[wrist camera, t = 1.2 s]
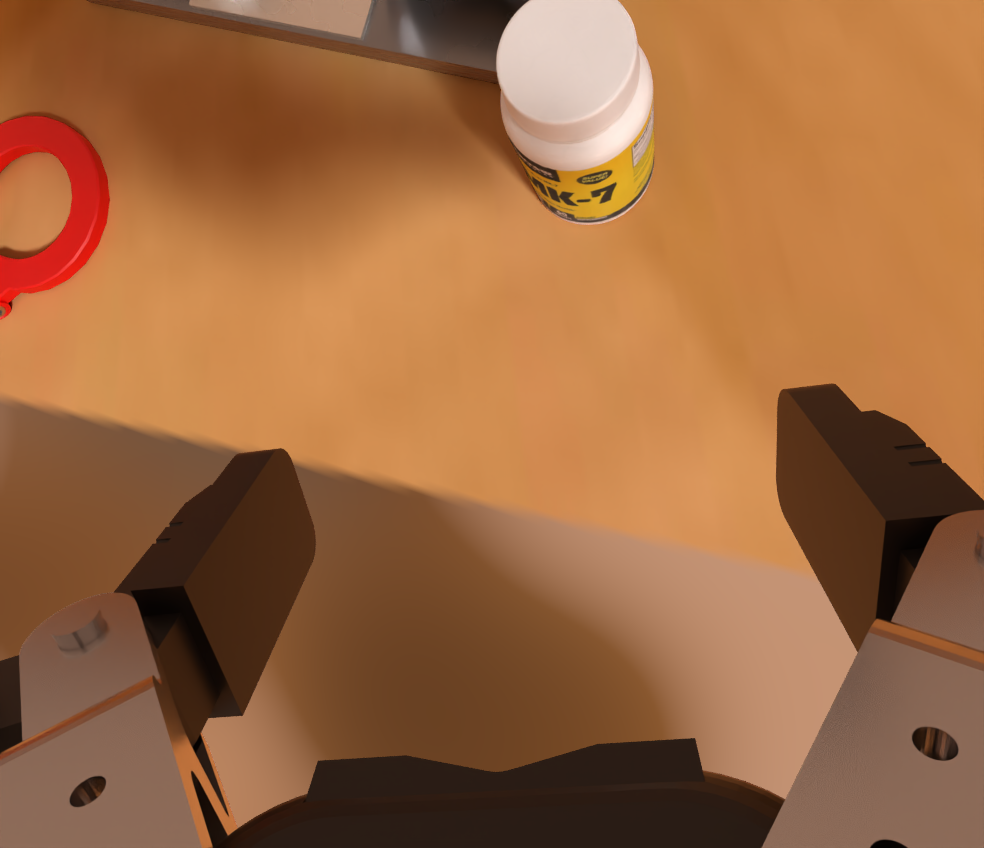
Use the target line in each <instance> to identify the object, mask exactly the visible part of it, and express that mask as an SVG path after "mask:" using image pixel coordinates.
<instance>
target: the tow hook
mask: <svg viewBox="0 0 984 848" xmlns="http://www.w3.org/2000/svg"><path fill="white" fill-rule="evenodd" d="M32 152H48V153H51V154H53V155H54V156H56V157H57V158H58V159H59V160H60V161H61V163H62V164H63V166H64V167H65V169H66V170H67V173H68V176H69V179H70V182H71V189H72V203H71V210H70V214H69V217H68V220H67V222H66V225H65V227H64V229H63V230H62V232H61V233H60V235H59V236H58V238H57V239H56V240H55V241H54V242H53V243H52V244H51V245H50V246H49V247H48V248H47V249H46V250H44V251H42V252H40V253H38V254H37V255H35V256H32V257H28V258H23V259H12V258H8V257H5V256H2V255H0V319H2V318H4V317H6V316H7V315H8V314H9V313H10V312H11V307H10V305H9V304H8V303H9V302H10V301H12V300H13V299H14V298H15V297H16V296H17V295H19V294H20V293H35V292H39V291H44V290H48V289H51V288H53V287H55V286H57V285H59V284H61V283H63V282H64V281H66V280H68V279H70V278H71V277H72V276H73V275H74V274H75V273H76V272H77V271H78V270H79V269H80V268H81V267H82V266H84V265H85V264H86V262H87V261H88V259H89V258H90V256H91V255H92V253H93V252H94V250H95V249H96V247H97V246H98V244H99V241H100V238H101V236H102V233H103V231H104V228H105V225H106V223H107V216H108V208H109V201H110V198H109V189H108V179H107V175H106V172H105V170H104V167H103V164H102V161H101V159H100V156H99V155H98V154H97V152H96V151H95V149H94V148H93V146H92V145H91V144H90V142H89V141H88V140H87V139H86V138H84V137H83V136H82V135H80V134H79V133H78V132H77V131H75V130H74V129H73V128H71V127H69V126H68V125H66V124H64V123H62V122H59V121H57V120H54V119H51V118H48V117H45V116H23V117H19V118H16V119H12V120H8V121H5V122H4V123H2V124H0V172H1V171H2V170H3V169H4V168H5V167H6V166H7V165H8V164H9V163H10V162H11V161H13V160H15V159H17V158H18V157H20V156H22V155H25V154H29V153H32Z"/></svg>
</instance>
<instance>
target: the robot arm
mask: <svg viewBox="0 0 984 848" xmlns="http://www.w3.org/2000/svg"><path fill="white" fill-rule="evenodd" d="M776 484H777V492H778V498H779V502H780V506H781V509H782V512H783V515H784V517H785V519H786V521H787V522H788V524H789V526H790V528H791V530H792V532H793V533H794V535H795V537H796V539H797V541H798V543H799V545H800V546H801V548H802V550H803V552H804V554H805V556H806V558H807V559H808V561H809V563H810V565H811V567H812V569H813V571H814V572H815V574H816V576H817V578H818V580H819V582H820V583H821V585H822V587H823V589H824V591H825V593H826V594H827V596H828V598H829V600H830V602H831V604H832V606H833V607H834V609H835V611H836V613H837V615H838V617H839V619H840V620H841V622H842V624H843V626H844V628H845V630H846V632H847V633H848V635H849V637H850V639H851V641H852V643H853V644H854V646H855V648H856V650H857V652H858V654H857V656H856V658H855V660H854V662H853V664H852V666H851V668H850V670H849V672H848V674H847V676H846V678H845V680H844V682H843V684H842V686H841V688H840V690H839V692H838V694H837V696H836V698H835V700H834V702H833V704H832V706H831V708H830V710H829V712H828V714H827V716H826V718H825V720H824V722H823V724H822V726H821V729H820V730H819V733H818V735H817V737H816V739H815V741H814V743H813V745H812V747H811V749H810V751H809V753H808V755H807V757H806V759H805V761H804V763H803V765H802V767H801V769H800V771H799V773H798V775H797V777H796V779H795V781H794V783H793V785H792V787H791V789H790V791H789V793H788V795H787V797H786V799H783V798H781V797H779V796H778V795H776V794H774V793H772V792H770V791H768V790H765V789H763V788H760V787H758V786H756V785H753V784H751V783H748V782H746V781H742V780H739V779H736V778H732V777H729V776H725V775H722V774H718V773H713V772H708V771H703V770H702V766H701V762H700V758H699V753H698V749H697V745H696V740H695V738H691V739H674V740H657V741H641V742H624V743H610V744H609V743H607V744H596V745H593V746H589V747H586V748H583V749H579V750H576V751H572V752H569V753H566V754H563V755H559V756H555V757H552V758H549V759H545V760H542V761H539V762H535V763H532V764H528V765H525V766H522V767H519V768H515V769H511V770H508V771H503V772H490V771H484V770H479V769H473V768H468V767H463V766H458V765H453V764H447V763H442V762H437V761H431V760H426V759H421V758H416V757H411V756H390V757H374V758H357V759H341V760H324V761H318V763H317V765H316V769H315V772H314V775H313V778H312V781H311V785H310V788H309V791H308V794H306V795H303V796H299V797H296V798H294V799H292V800H289V801H287V802H284V803H282V804H280V805H277V806H275V807H273V808H271V809H269V810H268V811H266V812H264V813H262V814H260V815H258V816H256V817H255V818H253V819H251V820H250V821H248V822H247V823H245V824H244V825H242V826H241V827H239V828H238V827H237V824H236V821H235V819H234V816H233V813H232V810H231V807H230V805H229V802H228V799H227V796H226V793H225V791H224V788H223V785H222V782H221V780H220V777H219V774H218V771H217V769H216V766H215V763H214V760H213V757H212V754H211V752H210V749H209V746H208V744H207V742H206V740H205V738H204V736H203V734H202V732H201V731H202V729H203V727H204V725H205V723H206V721H207V720H208V718H216V717H230V716H243V714H244V712H245V710H246V707H247V705H248V703H249V701H250V699H251V696H252V694H253V692H254V690H255V688H256V685H257V683H258V681H259V679H260V676H261V674H262V672H263V670H264V668H265V665H266V663H267V661H268V659H269V657H270V655H271V652H272V650H273V648H274V646H275V643H276V641H277V638H278V637H279V634H280V632H281V630H282V628H283V626H284V624H285V621H286V619H287V617H288V615H289V613H290V610H291V608H292V606H293V604H294V601H295V599H296V597H297V595H298V593H299V591H300V588H301V586H302V584H303V582H304V579H305V577H306V575H307V573H308V571H309V568H310V566H311V564H312V562H313V559H314V555H315V545H316V539H315V530H314V525H313V522H312V519H311V516H310V513H309V510H308V507H307V504H306V501H305V498H304V495H303V492H302V489H301V486H300V483H299V480H298V478H297V474H296V471H295V468H294V465H293V463H292V460H291V458H290V456H289V454H288V453H287V452H286V451H285V450H284V449H281V448H280V449H271V450H263V451H255V452H246V453H239V454H237V455H236V456H235V457H234V458H233V459H232V460H231V461H230V463H229V464H228V465H227V467H226V468H225V469H224V471H223V472H222V473H221V475H220V476H219V477H218V478H217V480H216V481H215V482H214V483H213V485H210V486H209V487H207V488H206V489H204V490H203V491H202V492H200V493H199V494H198V495H196V496H195V497H193V498H192V499H191V500H189V501H188V502H186V503H185V504H184V506H183V507H182V508H181V509H180V511H179V512H178V513H177V514H176V516H175V517H174V518H173V519H172V521H171V522H170V523H169V524H170V527H166V528H165V529H164V530H163V532H162V533H161V534H160V536H159V537H158V538H157V539H156V541H157V542H156V544H152V546H151V547H150V548H149V549H148V550H147V552H146V553H145V554H144V555H143V557H142V558H141V559H140V561H139V562H138V563H137V564H136V565H135V567H134V568H133V569H132V570H131V572H130V573H129V574H128V575H127V577H126V578H125V579H124V580H123V581H122V583H121V584H120V585H119V587H118V588H117V589H116V590H115V591H114V593H105V594H100V595H95V596H92V597H89V598H86V599H83V600H81V601H78V602H76V603H73V604H71V605H69V606H67V607H65V608H64V609H62V610H60V611H58V612H57V613H55V614H54V615H52V616H51V617H49V618H48V619H47V620H45V621H44V622H43V623H42V624H40V625H39V626H38V627H37V628H36V629H35V630H34V631H33V632H32V633H31V634H30V635H29V637H28V638H27V639H26V641H25V642H24V644H23V645H22V648H21V650H20V654H19V655H18V656H15V657H12V658H8V659H5V660H2V661H0V848H984V500H983V499H982V498H981V497H980V496H979V495H978V494H977V493H976V492H975V491H974V490H973V489H972V488H971V487H970V486H968V485H967V484H966V483H965V482H964V481H963V480H962V479H961V478H960V477H959V476H958V475H957V474H956V473H955V472H954V471H953V470H952V469H951V468H950V467H949V466H948V465H947V464H946V463H942V461H941V458H940V457H939V456H938V455H937V454H936V453H935V452H934V451H933V450H932V449H931V448H930V447H926V443H925V442H924V441H923V440H922V439H921V438H920V437H919V436H918V435H917V434H916V433H915V432H914V431H913V430H912V429H911V428H910V427H909V426H908V425H906V424H904V423H902V422H900V421H898V420H896V419H893V418H891V417H889V416H887V415H885V414H883V413H880V412H878V411H876V410H873V411H865V412H861V411H860V410H859V409H858V408H857V407H856V405H855V404H854V403H853V402H852V401H851V400H850V399H849V398H848V397H847V396H846V395H845V394H844V392H843V391H842V390H841V389H840V388H839V387H838V386H837V385H836V384H824V385H815V386H807V387H799V388H790V389H783V390H781V392H780V394H779V398H778V407H777V458H776Z"/></svg>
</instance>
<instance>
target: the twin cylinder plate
mask: <svg viewBox="0 0 984 848" xmlns="http://www.w3.org/2000/svg"><path fill="white" fill-rule="evenodd" d="M87 1H89V2H92V3H97V4H102V5H107V6H112V7H117V8H122V9H127V10H132V11H137V12H142V13H147V14H152V15H157V16H162V17H167V18H172V19H177V20H182V21H187V22H192V23H197V24H202V25H207V26H212V27H217V28H222V29H227V30H232V31H237V32H242V33H247V34H252V35H257V36H262V37H267V38H272V39H277V40H282V41H287V42H292V43H297V44H302V45H307V46H312V47H317V48H322V49H327V50H332V51H337V52H342V53H347V54H352V55H357V56H362V57H367V58H372V59H377V60H382V61H387V62H392V63H397V64H402V65H407V66H412V67H417V68H422V69H427V70H432V71H437V72H442V73H447V74H452V75H457V76H462V77H467V78H472V79H477V80H482V81H487V82H492V83H497V84H499V82H498V78H497V70H496V56H497V50H498V46H499V42H500V39H501V37H502V34H503V32H504V30H505V28H506V26H507V24H508V23H509V21H510V20H511V18H512V17H513V16H514V14H515V13H516V12H517V11H518V10H519V9H520V8H521V7H522V6H523V5H524V4H525V3H527V2H528V1H529V0H87Z"/></svg>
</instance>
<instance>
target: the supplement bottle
mask: <svg viewBox="0 0 984 848" xmlns="http://www.w3.org/2000/svg"><path fill="white" fill-rule="evenodd" d="M496 70H497V78H498V82H499V85H500V88H501V99H500V105H501V114H502V120H503V124H504V127H505V130H506V132H507V134H508V137H509V139H510V141H511V143H512V145H513V147H514V149H515V151H516V153H517V155H518V157H519V159H520V161H521V163H522V165H523V167H524V169H525V171H526V173H527V176H528V177H529V179H530V182H531V183H532V186H533V188H534V190H535V192H536V193H537V195H538V197H539V199H540V200H541V202H542V203H543V204H544V205H545V207H546V208H547V209H548V210H549V211H551V212H552V213H553V214H554V215H556V216H557V217H559V218H561V219H563V220H565V221H568V222H571V223H575V224H582V225H594V224H601V223H605V222H609V221H612V220H614V219H616V218H618V217H620V216H622V215H623V214H625V213H626V212H627V211H629V210H630V209H631V208H632V207H633V206H634V205H635V204H636V203H637V202H638V201H639V200H640V198H641V197H642V196H643V194H644V193H645V191H646V189H647V187H648V185H649V182H650V180H651V177H652V173H653V167H654V110H653V80H652V74H651V70H650V67H649V63H648V60H647V58H646V56H645V54H644V52H643V50H642V49H641V48H640V46H639V45H638V43H637V36H636V32H635V27H634V24H633V22H632V20H631V18H630V16H629V14H628V12H627V11H626V9H625V8H624V7H623V6H622V4H621V3H620V2H619V1H618V0H529V1H528V2H527V3H525V4H524V5H523V6H522V7H521V8H520V9H519V10H518V11H517V12H516V13H515V14H514V16H513V17H512V18H511V20H510V21H509V23H508V24H507V26H506V28H505V30H504V32H503V34H502V37H501V39H500V42H499V46H498V50H497V56H496Z"/></svg>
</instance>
